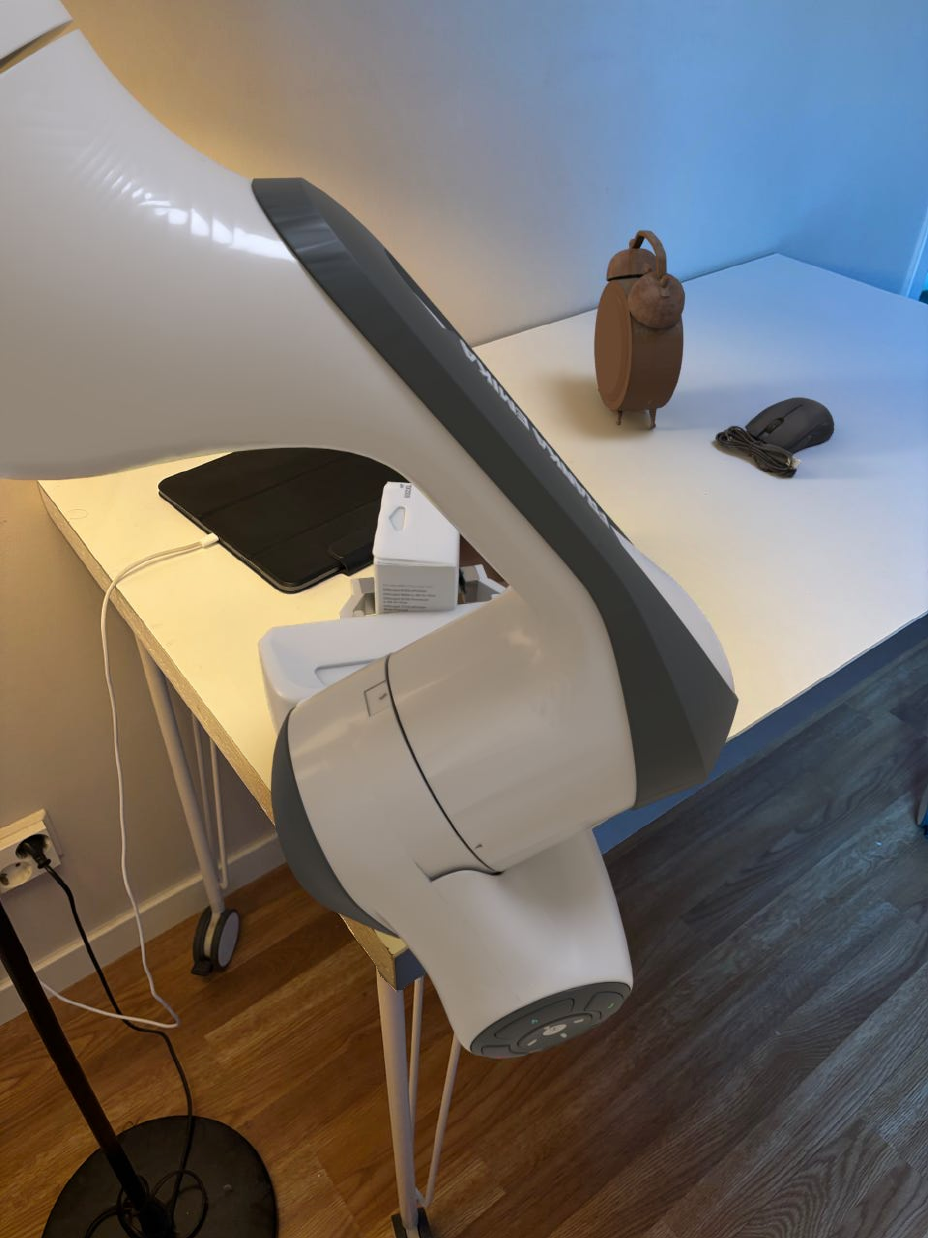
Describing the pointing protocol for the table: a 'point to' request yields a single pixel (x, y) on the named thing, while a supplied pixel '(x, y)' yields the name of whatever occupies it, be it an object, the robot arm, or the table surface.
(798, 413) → the computer mouse
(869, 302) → the table surface
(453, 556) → the ink box
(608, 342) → the alarm clock
